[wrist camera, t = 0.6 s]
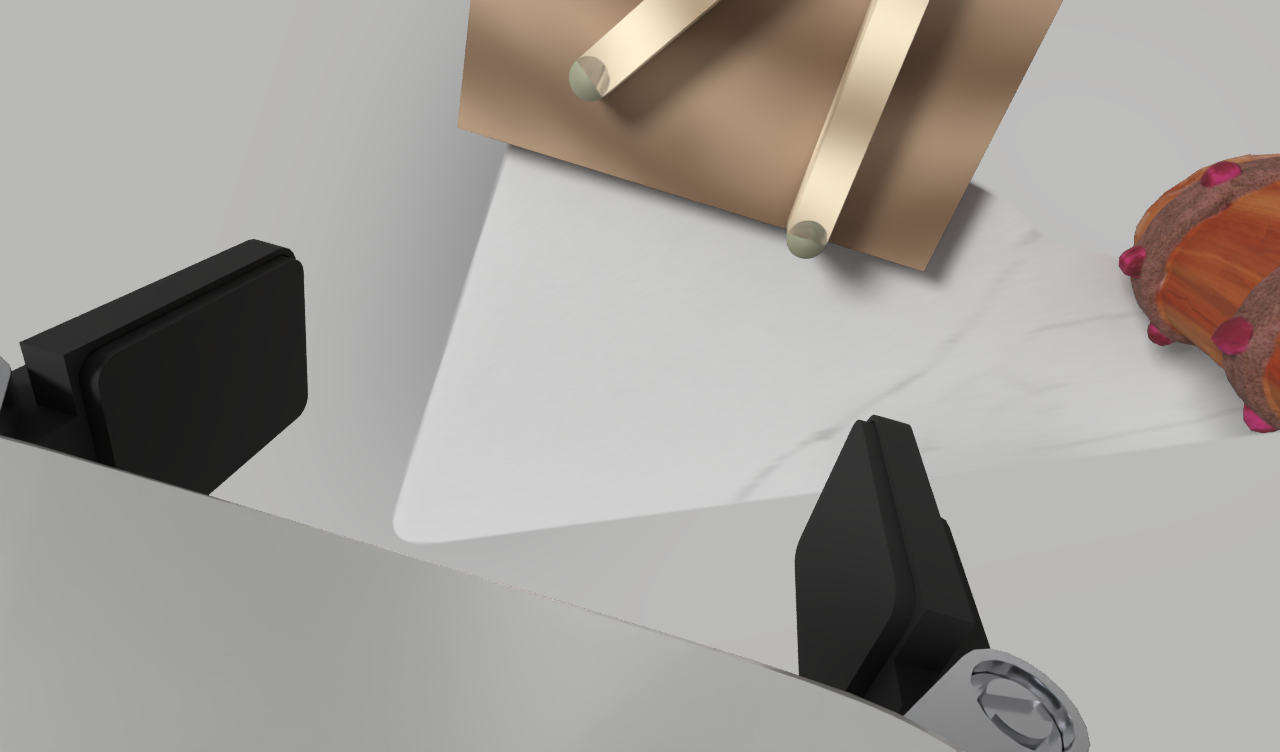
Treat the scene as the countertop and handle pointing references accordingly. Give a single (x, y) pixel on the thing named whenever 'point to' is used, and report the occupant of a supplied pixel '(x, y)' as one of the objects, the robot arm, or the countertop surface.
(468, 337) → the countertop surface
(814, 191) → the tongs fixed
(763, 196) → the board
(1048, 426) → the countertop surface
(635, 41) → the tong arm
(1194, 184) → the mug
